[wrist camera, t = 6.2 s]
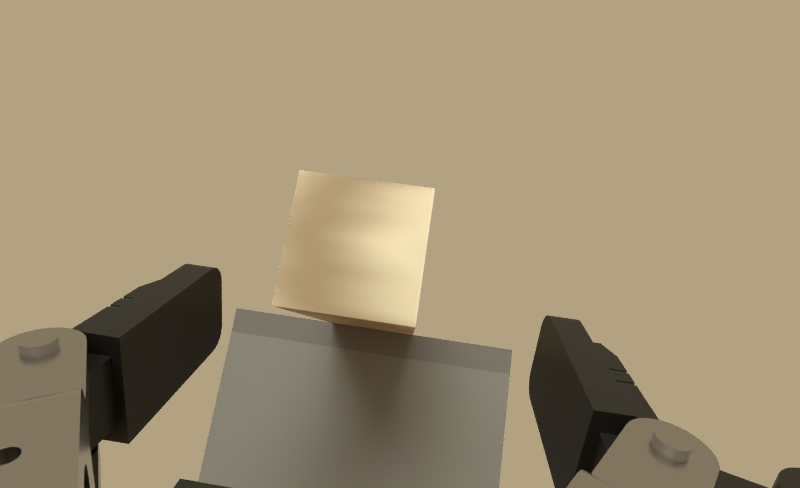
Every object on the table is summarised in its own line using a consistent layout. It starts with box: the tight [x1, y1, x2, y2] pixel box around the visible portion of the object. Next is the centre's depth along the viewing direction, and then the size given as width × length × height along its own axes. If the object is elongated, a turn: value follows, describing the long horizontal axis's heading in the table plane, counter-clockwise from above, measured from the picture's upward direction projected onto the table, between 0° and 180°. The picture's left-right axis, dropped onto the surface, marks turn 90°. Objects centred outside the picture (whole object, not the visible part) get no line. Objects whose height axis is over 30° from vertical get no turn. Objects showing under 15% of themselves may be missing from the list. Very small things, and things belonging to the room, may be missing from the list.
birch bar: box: [272, 170, 435, 335], centre depth 23 cm, size 4×23×4 cm, turn 179°
